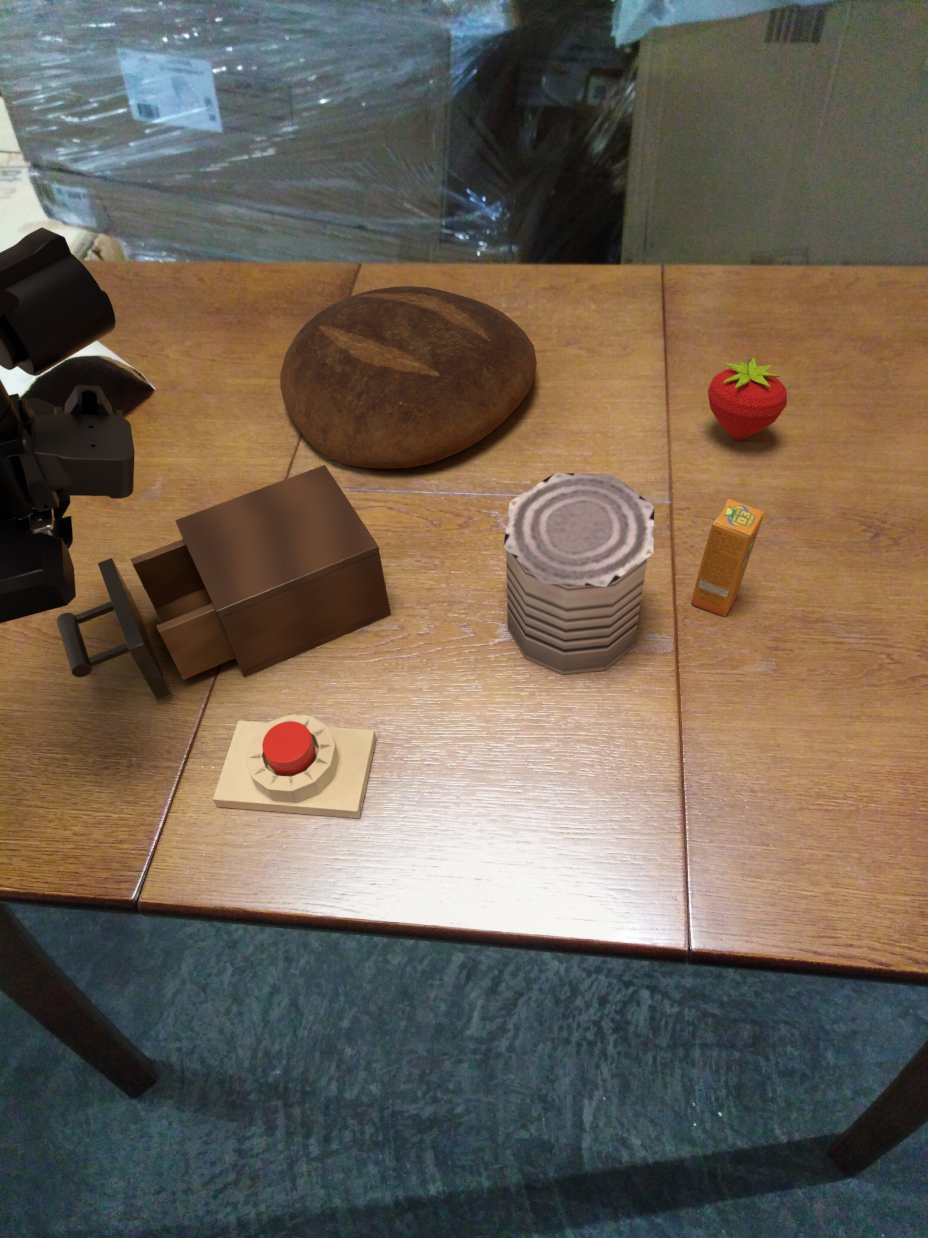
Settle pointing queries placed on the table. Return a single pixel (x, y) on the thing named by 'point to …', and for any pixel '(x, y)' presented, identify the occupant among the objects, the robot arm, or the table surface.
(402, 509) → the table surface
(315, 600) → the brown wooden drawer box
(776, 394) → the strawberry
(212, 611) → the brown drawer
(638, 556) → the can
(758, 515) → the supplement box
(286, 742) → the button
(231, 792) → the control block
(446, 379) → the bread
